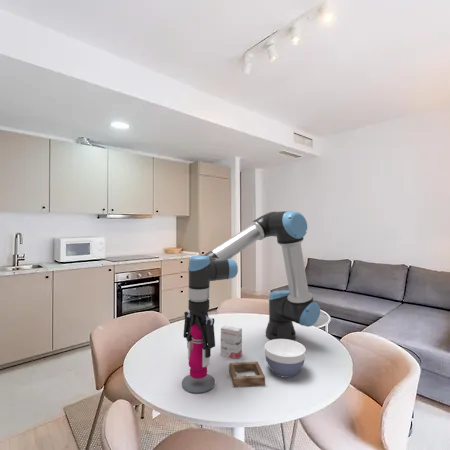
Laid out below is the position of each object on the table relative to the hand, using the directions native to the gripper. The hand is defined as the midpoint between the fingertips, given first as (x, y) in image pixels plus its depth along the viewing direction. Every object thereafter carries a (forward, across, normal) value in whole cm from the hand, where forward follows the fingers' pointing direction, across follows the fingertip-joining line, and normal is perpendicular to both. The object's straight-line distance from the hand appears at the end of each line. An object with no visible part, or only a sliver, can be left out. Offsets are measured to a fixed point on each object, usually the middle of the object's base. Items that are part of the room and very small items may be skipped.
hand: (198, 361), depth 105 cm
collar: (+8, -10, -15) cm, 20 cm away
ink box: (+8, +6, -25) cm, 27 cm away
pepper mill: (+5, 0, 0) cm, 5 cm away
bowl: (+8, -18, -29) cm, 35 cm away
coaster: (+8, 0, 0) cm, 8 cm away
